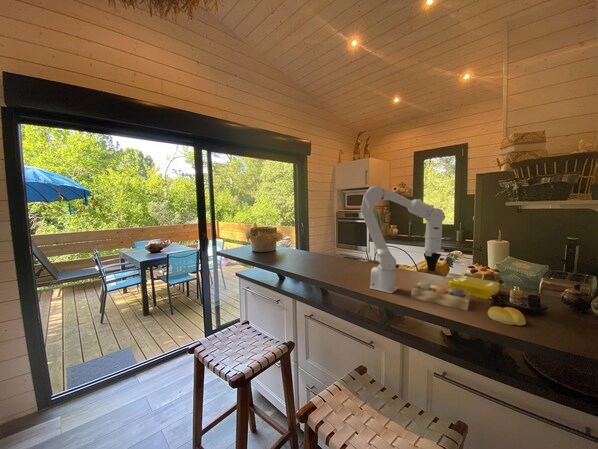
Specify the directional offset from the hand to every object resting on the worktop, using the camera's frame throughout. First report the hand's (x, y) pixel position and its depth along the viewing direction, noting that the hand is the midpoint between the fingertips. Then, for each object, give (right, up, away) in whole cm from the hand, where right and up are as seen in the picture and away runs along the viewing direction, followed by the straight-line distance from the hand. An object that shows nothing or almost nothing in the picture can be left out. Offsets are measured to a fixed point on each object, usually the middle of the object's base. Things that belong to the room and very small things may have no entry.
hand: (431, 270), depth 99 cm
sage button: (-4, -8, -3) cm, 9 cm away
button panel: (0, -10, -6) cm, 11 cm away
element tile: (+20, -10, +4) cm, 22 cm away
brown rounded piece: (0, -9, -6) cm, 11 cm away
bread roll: (+11, -11, -23) cm, 28 cm away
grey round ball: (+4, -8, -10) cm, 13 cm away
